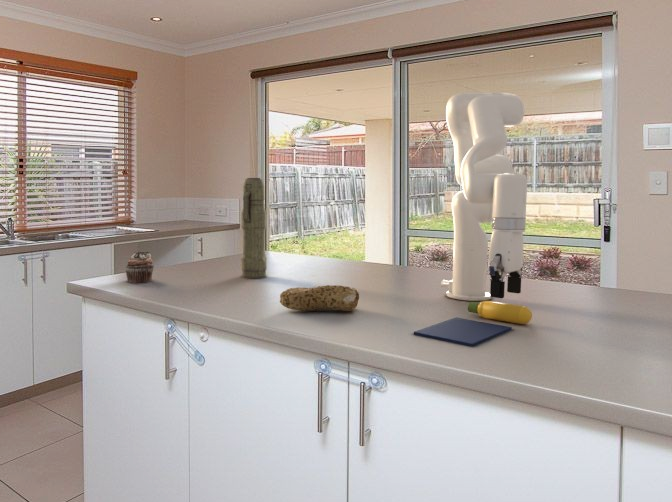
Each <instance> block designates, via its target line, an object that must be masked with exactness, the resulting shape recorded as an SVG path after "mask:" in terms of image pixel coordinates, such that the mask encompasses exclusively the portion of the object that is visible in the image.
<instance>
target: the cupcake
mask: <svg viewBox="0 0 672 502" xmlns="http://www.w3.org/2000/svg"><path fill="white" fill-rule="evenodd" d="M151 257H152V255H151V253H150V252H149V251H138V252H136V251H134V252H133V254H132V255H131V256H130V258H129V259H128V260H127V265H126V266H125V267H124V270H125V275H126V279H127V282H128V283H131V284H144V283H149V282H152V278H153V272H154V268H155V265H154V260H153V259H152V258H151Z"/></svg>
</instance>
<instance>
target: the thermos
mask: <svg viewBox="0 0 672 502" xmlns="http://www.w3.org/2000/svg"><path fill="white" fill-rule="evenodd" d="M264 183H265V182H264V180H263V179H262V178H261V177H247V178H244V181H243V185H242V202H243V204H242V210H241V215H240V216H241V218H240V219H241V224H240V225H241V229H242V256H241V261H240V262H241V277H242V278H243V279H264V278H267V266H268V264H267V263H268V262H267V255H266V229H267V211H266V207H265V205H266V204H265V198H266V197H265V193H266V192H265V191H266V189H265V188H266V187H265V184H264Z"/></svg>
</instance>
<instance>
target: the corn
mask: <svg viewBox="0 0 672 502" xmlns="http://www.w3.org/2000/svg"><path fill="white" fill-rule="evenodd" d="M467 311H468V313H471V314H477V315H479V316H480V317H481V318H483V319H488V320H494V321H500V322H506V323H511V324H518V325H526V324H528V323H530V321H532V318H533V312H532V310H531V309H530V308H529V307H527V306H525V305H518V304H513V303H506V302H498V301H491V300H483V301H479V302H478V301H469V302H468V304H467Z"/></svg>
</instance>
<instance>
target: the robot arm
mask: <svg viewBox="0 0 672 502" xmlns="http://www.w3.org/2000/svg"><path fill="white" fill-rule="evenodd" d="M524 116H525V107H524V102H523V99H521V97H520V96H518V95H517V94H514V93H513V94H512V93H509V92H461V93H457V94H453V95H452V96H450V97H449V98H448V101H447V103H446V108H445V118H446V124H447V128H448V131H449V133H450V136H451V139H452V143H453V152H454V153H453V154H454V168H455V169H454V171H455V179H456V182H457V184H458V185H459V186H462V190H460V191H459V192H457V193H456V194H454V196H453V198H452V201H451V211H452V216H453V217H452V218H453V256H452V257H453V258H452V279H451V280H445V279H442V280H441V282H440V287H441V288H447V289H448V290H447V291H446V297H448V298H450V299H454V300H460V301H469V302H482V301H490V300H491V299H492V298H496V299H504V298H505V287H506V285H507V288H506V291H507V293H511V294H521V293H522V278H523V273H522V271H523V269H524V266H523V264H524V232H526V220H527V219H526V216H527V195H528V178H527V176H526V175H525V174H523V173H514V167H513V163H512V161H511V159H510V158H509V157H508V156H506V155H504V154H500V153H501V152H502V151H504V150H505V148H506V147H507V145H508V137H507V131H506V128H505V127H517V126H520V124H522V121H523V120H524ZM481 224H491V236H490V242H489V238H488V235H487V233H486V232H485V230H484V229H483V227H482V226H481ZM488 249H489V251H488ZM488 271H489V273H487V272H488ZM487 274H489V281H490V288H489V292H487ZM506 274H508V276H507V284H506V285H505V283H506V281H504V279H505V276H506Z"/></svg>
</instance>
